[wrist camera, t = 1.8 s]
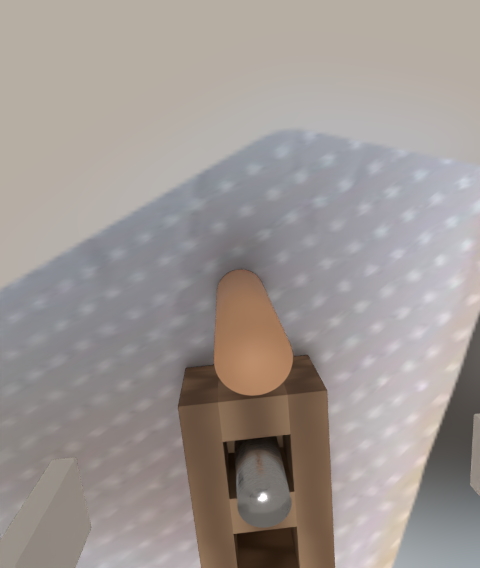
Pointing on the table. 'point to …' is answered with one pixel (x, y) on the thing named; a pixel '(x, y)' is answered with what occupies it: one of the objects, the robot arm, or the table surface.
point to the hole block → (222, 473)
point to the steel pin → (261, 482)
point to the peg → (249, 337)
